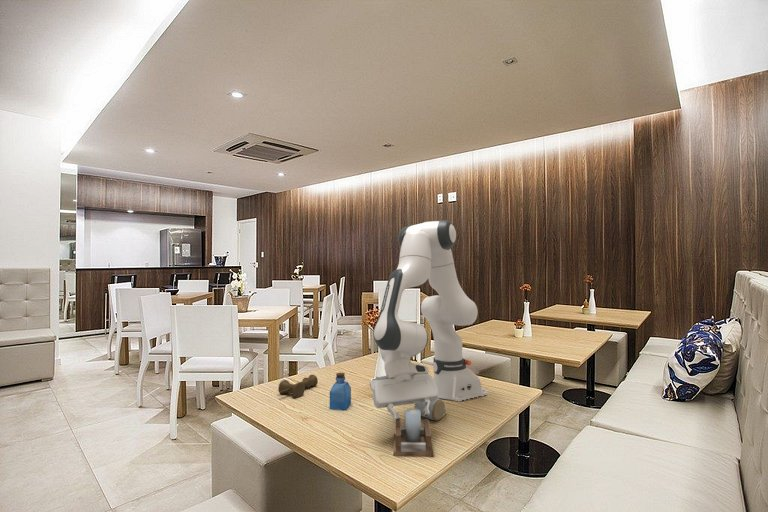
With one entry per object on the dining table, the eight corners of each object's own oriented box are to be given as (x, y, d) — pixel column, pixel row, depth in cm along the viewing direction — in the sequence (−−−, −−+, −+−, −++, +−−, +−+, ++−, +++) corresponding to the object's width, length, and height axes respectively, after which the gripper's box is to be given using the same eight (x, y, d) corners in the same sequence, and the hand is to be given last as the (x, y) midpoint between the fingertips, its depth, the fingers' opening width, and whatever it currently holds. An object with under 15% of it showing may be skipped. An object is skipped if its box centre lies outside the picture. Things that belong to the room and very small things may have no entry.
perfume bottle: (346, 410, 136) (346, 376, 136) (329, 409, 137) (329, 375, 137) (351, 404, 142) (350, 371, 142) (335, 402, 143) (335, 370, 143)
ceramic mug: (433, 424, 124) (433, 401, 124) (414, 417, 130) (414, 394, 130) (451, 415, 132) (452, 393, 132) (432, 409, 137) (432, 387, 137)
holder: (430, 437, 115) (430, 419, 115) (433, 456, 104) (433, 436, 104) (393, 437, 115) (393, 418, 115) (393, 455, 104) (393, 435, 104)
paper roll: (417, 438, 112) (417, 407, 112) (423, 445, 108) (423, 413, 108) (403, 440, 111) (403, 409, 111) (408, 447, 107) (408, 414, 107)
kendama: (322, 388, 161) (288, 402, 144) (305, 385, 166) (270, 398, 148) (322, 374, 161) (288, 386, 144) (305, 371, 166) (270, 383, 149)
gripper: (370, 372, 115) (380, 417, 106) (432, 366, 121) (446, 408, 112) (366, 382, 119) (376, 427, 110) (426, 376, 126) (440, 417, 116)
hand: (412, 417), depth 111 cm, fingers open, 8 cm apart
